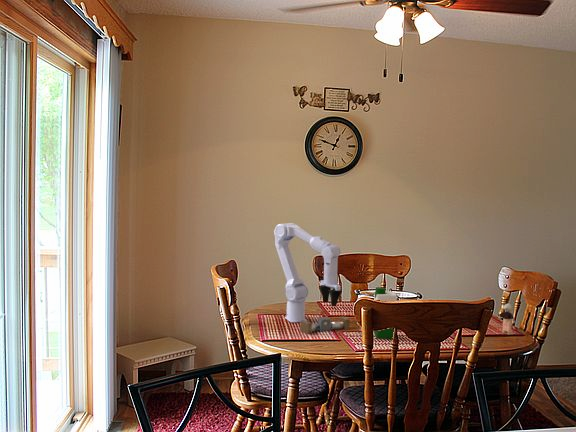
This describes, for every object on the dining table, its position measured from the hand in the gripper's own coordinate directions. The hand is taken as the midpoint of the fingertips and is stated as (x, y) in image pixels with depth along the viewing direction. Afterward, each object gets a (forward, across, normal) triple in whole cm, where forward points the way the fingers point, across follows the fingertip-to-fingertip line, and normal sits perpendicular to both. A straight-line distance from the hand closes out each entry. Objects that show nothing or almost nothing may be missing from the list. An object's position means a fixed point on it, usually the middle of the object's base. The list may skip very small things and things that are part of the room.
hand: (329, 304), depth 251 cm
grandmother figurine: (+10, +35, +67) cm, 76 cm away
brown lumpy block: (+10, +4, -11) cm, 15 cm away
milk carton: (+10, +21, +14) cm, 27 cm away
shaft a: (+10, +4, +2) cm, 11 cm away
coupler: (+10, +4, -4) cm, 12 cm away
